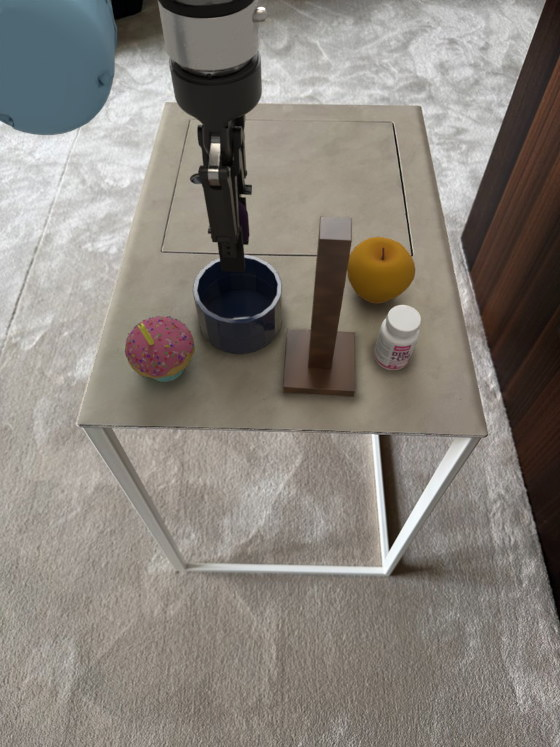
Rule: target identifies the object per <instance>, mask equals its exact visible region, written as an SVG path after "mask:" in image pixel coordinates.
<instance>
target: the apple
mask: <svg viewBox="0 0 560 747" xmlns="http://www.w3.org/2000/svg"><path fill="white" fill-rule="evenodd" d="M415 264H416V263H415V262H414V259H413V256H412V255H411V254H410V252H409V251H408V249H406V247H405V246H404V245H403V244H402V243H401V242H399V241H396V240H395V239H392V238H389V237H388V238H387V237H382V236H373V237H368V238H366V239H364V240H363V241H361V242H360V243H358V244H356V246H355V247H354V248H353V249H352V251H350V256H349V262H348V268H347V278H348V279H347V280H348V282H349V284H350V285H351V287H352V289H353V291H354V293H356V295H357V296H358V297H360V298H361V299H363V300H364V301H366V302H368V303H370V304H374V305H375V304H383V303H386V302H388V301H391V300H393V299H395V298H397V297H399V296H401V295H402V294H403V293H404V292H406V290H408V288H409V287H410V285H411V284H412V283H413V281H414V280H415V275H416V265H415Z"/></svg>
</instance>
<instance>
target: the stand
mask: <svg viewBox="0 0 560 747" xmlns="http://www.w3.org/2000/svg"><path fill="white" fill-rule="evenodd" d="M317 236H318V237H317V248H316V260H315V261H316V262H315V272H314V285H313V296H312V305H311V306H312V309H311V319H310V329H302V328H287V329H286V340H285V352H284V353H285V354H284V367H283V379H282V381H283V382H282V393H285V394H299V395H301V394H302V395H316V396H331V397H347V398H349V397H351V398H353V397H355V393H356V332H355V331H338V329H339V325H340V319H341V318H340V317H341V312H342V305H343V298H344V292H345V287H346V279H347V275H348V273H347V268H348V262H349V256H350V254H351V248H352V242H353V241H352V240H353V218H352V217H341V216H340V217H339V216H320V217H319V225H318V235H317Z"/></svg>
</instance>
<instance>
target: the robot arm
mask: <svg viewBox="0 0 560 747" xmlns="http://www.w3.org/2000/svg"><path fill="white" fill-rule="evenodd" d="M258 3H259V0H157V4H158V10H159V16H160V22H161V28H162V33H163V34H162V35H163V41H164V46H165V52H166V54H167V55H168V57H169V58H168V64H169V65H168V67H169V71H170V78H171V83H172V89H173V94H174V100H175V102H176V103H177V105H178V107H179V108H180V109H181V110H182V111H183V112H184V113H186V114H187V115H189V116H190V117H193V118H194V119H196V120H197V121H199V122H200V123H201V124H198V125H197V126H196V127H197V128H196V129H197V130H196V134H197V136H196V137H197V144H198V146H199V147H200V149H201V154H202V155H201V156H202V157H201V158H202V165H199V167H198V170H197V175H198V177H199V181H200V184H201V186H202V189H203V190H202V191H203V197H204V201H205V208H206V214H207V219H208V224H209V225H208V228H207V234H208V235H210V239H211V242H212V243H216V244H217V249H218V256H219V258H220V264H221V271H232V272H245V257H244V255H245V247H244V246H249V242H250V238H249V239H248V240H247V242H246V243H244V244H243V233H242V225H239V210H238V201H239V202H241V203H242V204H243V205H244V206H245V207H246V209H247V197H246V196H252V194H253V185H252V184H246V180H245V179H247V176H248V170H247V160H246V135H245V126H246V115H247V114H249V113H250V112H251V111H253V110H254V109H255V108H256V107H257V106H258V105H259V103H260V100H261V98H262V94H263V87H262V86H263V81H262V57H261V56H262V55H261V53H260V51H259V48H260V45H261V42H260V41H261V40H260V39H261V38H260V23H265V22H266V21H267V20H268V11H267V8H266V7H263V6H258ZM117 48H118V26H117V24H116V21H115V17H114V12H113V5H112V0H0V122H1V123H3V124H5V125H8V127H9V126H10V127H11V128H12V129H13V130H15V131H18V132H22V133H25V134H30V135H36V136H56V135H63V134H66V133H70V132H73V131H76V130H77V129H80V128H82V127H84V126H85V125H87V124H88V123H90V122H91V121H92V120H94V119H95V117H97V115H98V114H99V113H100V112H101V111H102V109H103V108H104V106H105V105H106V103H107V102H108V99H109V97H110V94H111V92H112V87H113V83H114V77H115V72H116V70H115V68H116V67H115V66H116V65H115V64H116V63H115V62H116V60H115V58H116V57H115V55H116V52H117ZM242 195H244V196H242ZM247 210H248V209H247Z"/></svg>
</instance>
